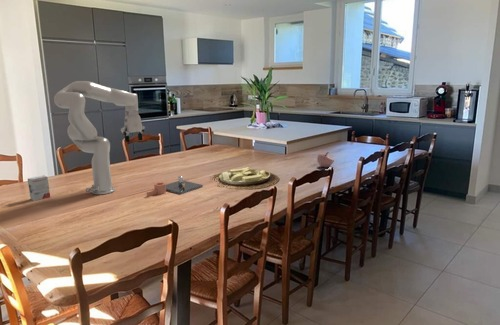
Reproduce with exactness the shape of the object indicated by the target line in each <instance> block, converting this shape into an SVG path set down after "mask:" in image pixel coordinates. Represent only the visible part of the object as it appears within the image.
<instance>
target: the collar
mask: <svg viewBox="0 0 500 325" xmlns="http://www.w3.org/2000/svg"><path fill="white" fill-rule="evenodd" d="M166 185H167V184H166V182H156V183H154V189H152V190H148V191H146V197H152V196H155V195H162V194H166V192H167V191H166Z"/></svg>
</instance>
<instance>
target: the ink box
mask: <svg viewBox="0 0 500 325" xmlns="http://www.w3.org/2000/svg"><path fill="white" fill-rule="evenodd" d="M27 184H28V185H27V186H28V190H29V197H30V200H31V201H33V202H34V201H35V202H36V201H39V200H43V199H47V198H51V190H50V186H49V185H50V184H49V178H48V176H46V175H44V174H43V175H39V176H33V177H28V178H27Z"/></svg>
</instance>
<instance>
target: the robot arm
mask: <svg viewBox="0 0 500 325" xmlns="http://www.w3.org/2000/svg"><path fill="white" fill-rule="evenodd" d="M86 98H89V99H92V100H96V101H99V102H103V103H112V104H114V105H115V106H117V107H124V109H125V112H124V115H125V116H124V126H123V127H121V128H120V132H121V133H122V135H123V136H124V141H125V143H130V136H129V134H130V133H137V135H138V136H137V139H138V141H143V134H144V132H145V128H146V126H144V125H143V124H142V119H141V116H140V115H139V98H138V94H137V93H133V92H130V91H129V92H128V91H126V90H121V89H117V88H113V87H109V86H106V85H103V84H102V85H101V84H99V83H96V82H93V81H89V80H76V81H73V82H71V83H69V84H68V85H66V86H65V87H64V88H62V89H60V90H59V91H57V92H56V94H55V95H54V97H53V102H54V104H55V106H57V108H60V109H68V117H67V119H68V123H69V125H68V127H67V129H66V131H67V135H68V137H69V139H70V140H71V142H73V143H74V145H75V146H76V147H77V148H78V149H79V150H80V151H82V152H84V153H89V154H93V156H92V158H91V171H92V172H91V173H92V181H93V184H91V186H90V187H86V188H85V191H86V192H91V194H93V195H107V194H111V193H114V192H115V191H116V188H115V187H114V186H113V185H112V184H113V182H112V173H111V172H112V171H111V162H110V151H111V142H110V140H109V139H108V138H106V137H104V136H98V130H97V129H96V127H95V125H94V124H92V123H93V122H91V121H90V120H89V118H88V117H87V116H86V114H85V108H86Z"/></svg>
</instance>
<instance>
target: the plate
mask: <svg viewBox="0 0 500 325" xmlns="http://www.w3.org/2000/svg"><path fill="white" fill-rule="evenodd" d="M211 180H213V181H215V182H216V184H214V185H215V187H218V188H227V189H228V190H236V191H237V190H240V191H248V190H259V189H260V190H262V189H265V188H267V189H268V188H270V187H272V186H274V185H276V184H278V183H279V181H281V180H280V177H279V176H278V175H276V174H274V173H272V172H269V171H268V170H264V169H261V168H250V167H249V166H248V167H243V168H242V167H241V168H237V169H234V168H233V169H229V170H226V171H224V172H223V171H222V172H220V173H218V174H215V175H213V176H212V178H210V179H209V181H211ZM228 186H229V187H228Z"/></svg>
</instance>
